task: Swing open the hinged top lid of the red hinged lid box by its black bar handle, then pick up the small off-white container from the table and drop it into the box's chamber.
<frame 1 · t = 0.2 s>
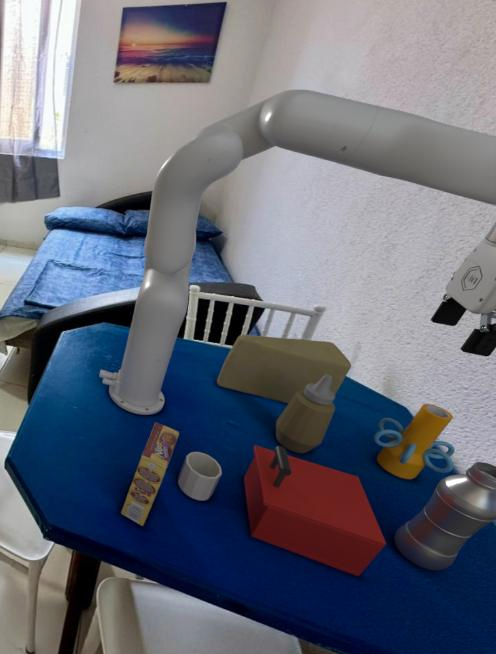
hand: (457, 337, 67), 31 cm above the table, tool pointing down, fingers open, 9 cm apart
cheese: (264, 393, 100), on the table
container: (194, 486, 76), on the table
red hinged lid box: (294, 522, 70), on the table
red box lid: (317, 480, 66), point 11 cm above the table, hinge at 0.0°
silver metal bottle: (414, 555, 66), on the table
candy box: (139, 503, 73), on the table
squeeze bottle: (291, 443, 86), on the table
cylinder: (394, 467, 82), on the table
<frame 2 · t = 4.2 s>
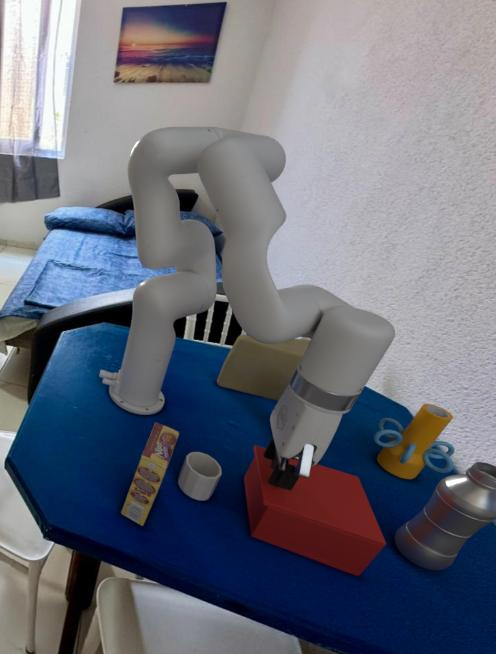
hand: (276, 471, 68), 10 cm above the table, tool pointing down, fingers closed on red box lid, 5 cm apart
red box lid: (317, 480, 66), point 11 cm above the table, hinge at 0.0°, touching gripper
everything else where it was.
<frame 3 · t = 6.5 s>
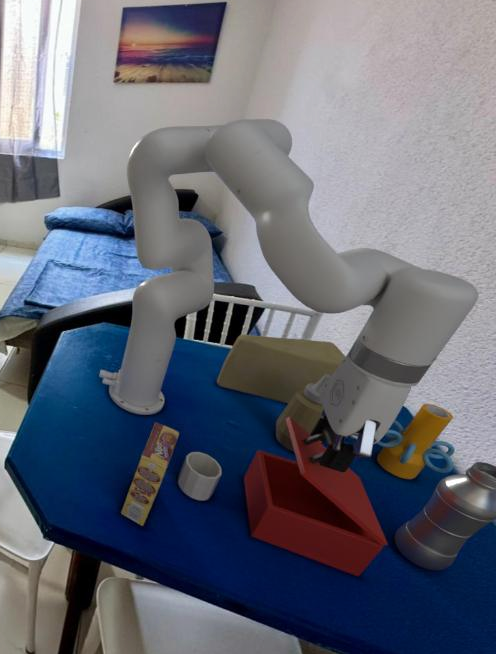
hand: (326, 452, 63), 17 cm above the table, tool pointing down, fingers closed on red box lid, 5 cm apart
red box lid: (347, 470, 63), point 14 cm above the table, hinge at 32.9°, touching gripper
everything else where it was.
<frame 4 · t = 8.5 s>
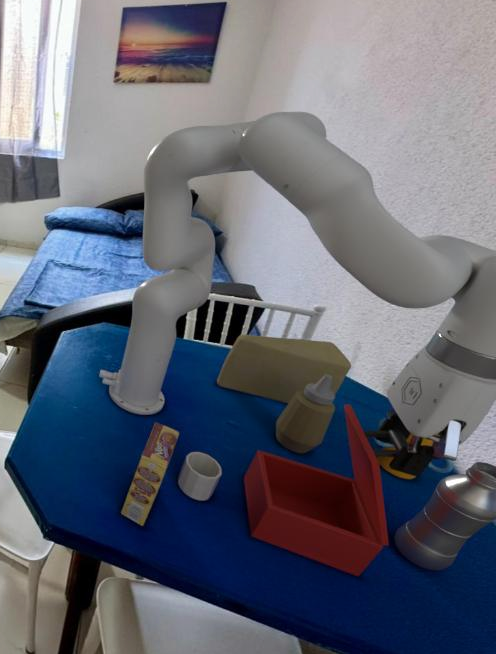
hand: (395, 455, 59), 20 cm above the table, tool pointing down, fingers closed on red box lid, 5 cm apart
red box lid: (385, 472, 61), point 16 cm above the table, hinge at 64.5°, touching gripper
everything else where it was.
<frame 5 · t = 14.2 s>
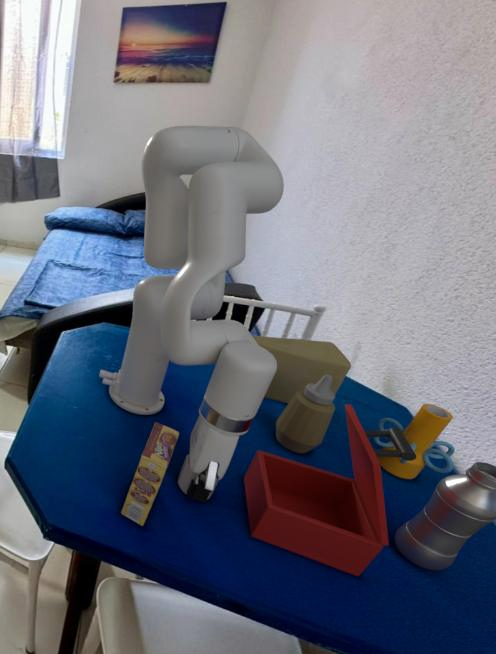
hand: (195, 483, 76), 1 cm above the table, tool pointing down, fingers closed on container, 5 cm apart
container: (194, 486, 76), on the table, touching gripper
red box lid: (386, 472, 61), point 16 cm above the table, hinge at 64.9°
everything else where it was.
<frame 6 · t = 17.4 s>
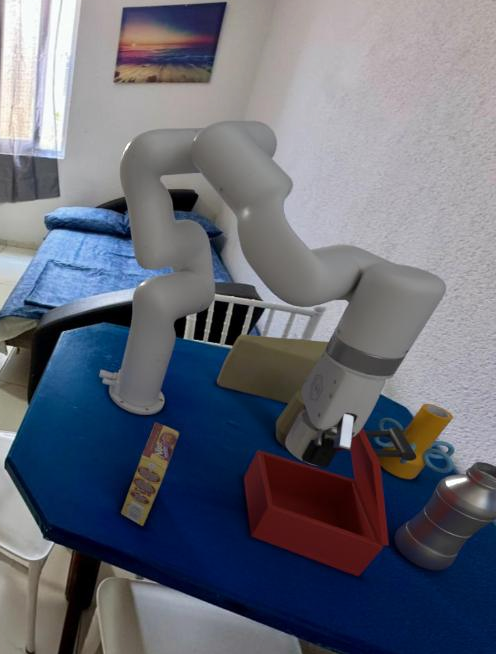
hand: (309, 446, 64), 17 cm above the table, tool pointing down, fingers closed on container, 5 cm apart
container: (306, 451, 64), point 16 cm above the table, touching gripper
everything else where it was.
when the fingers open (7 cm above the table, at t = 20.9 s): container stays where it is, resting on red hinged lid box.
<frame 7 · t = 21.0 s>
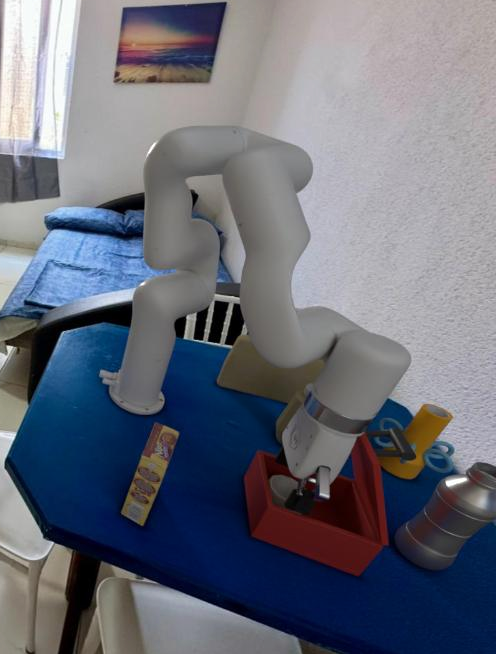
hand: (289, 486, 68), 8 cm above the table, tool pointing down, fingers open, 9 cm apart
container: (276, 512, 71), point 1 cm above the table, touching red hinged lid box
everything else where it was.
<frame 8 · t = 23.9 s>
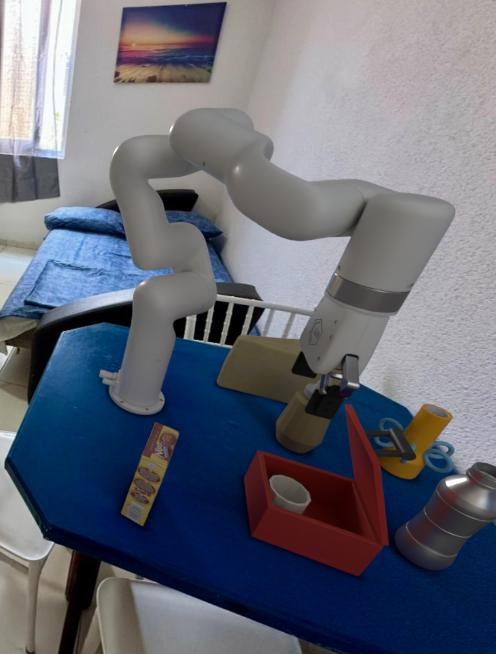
hand: (309, 393, 60), 26 cm above the table, tool pointing down, fingers open, 9 cm apart
nothing on the table moved.
at the end: red box lid at +65° (first picture: +0°); container inside the target area in the red hinged lid box (3.0 cm from its centre), point 0.8 cm above the red hinged lid box's base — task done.
